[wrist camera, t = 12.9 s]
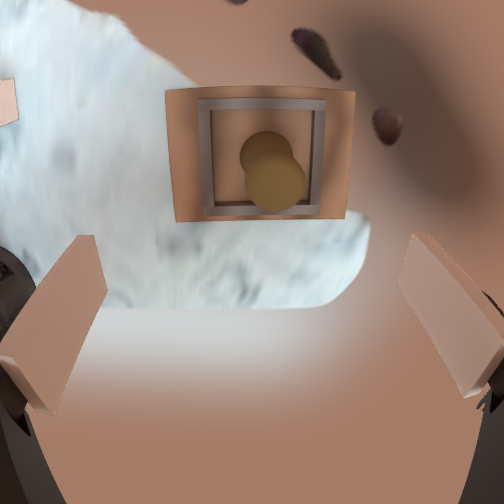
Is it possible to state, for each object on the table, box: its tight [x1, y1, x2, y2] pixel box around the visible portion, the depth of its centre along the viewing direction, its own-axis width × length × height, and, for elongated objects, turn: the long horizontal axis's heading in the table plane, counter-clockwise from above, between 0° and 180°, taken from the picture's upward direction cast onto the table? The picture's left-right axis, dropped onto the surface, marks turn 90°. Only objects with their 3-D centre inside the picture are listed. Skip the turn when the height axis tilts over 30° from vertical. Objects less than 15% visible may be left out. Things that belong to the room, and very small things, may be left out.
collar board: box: [165, 86, 355, 222], centre depth 34 cm, size 21×16×2 cm
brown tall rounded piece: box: [240, 131, 306, 212], centre depth 30 cm, size 6×6×11 cm
